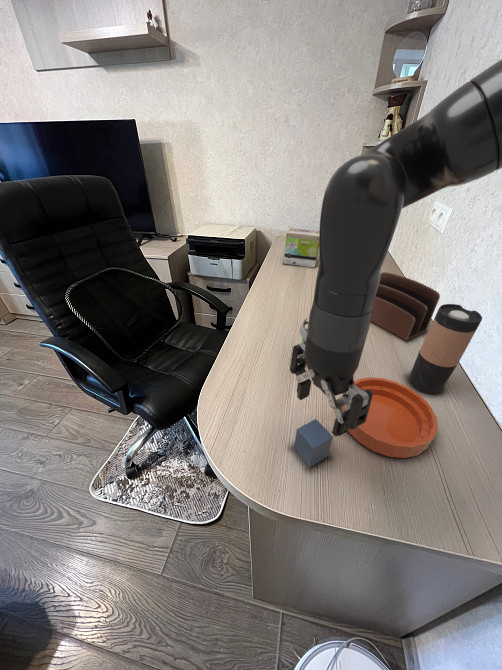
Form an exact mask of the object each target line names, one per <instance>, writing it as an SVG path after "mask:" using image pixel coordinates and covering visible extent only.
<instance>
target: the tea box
mask: <svg viewBox="0 0 502 670" xmlns="http://www.w3.org/2000/svg"><path fill="white" fill-rule="evenodd" d="M319 233H320V230H313V229H302V228H292V227H291V228H289V230H288V231H287V233H286V234H285V235H286V236H285V245H284V254H283V255H284V258H283V264H284V265H292V266H300V267H305V268H315V267H316V264H317V262H318V256H319Z"/></svg>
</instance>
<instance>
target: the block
mask: <svg viewBox="0 0 502 670" xmlns="http://www.w3.org/2000/svg"><path fill="white" fill-rule="evenodd" d="M294 439H295V440H294V445H293V450H294V451H295V452H296V453H297V455H298V456H299V457H300V458H301V460H302V461H303V462H304V463H305V464H306V466H307V467H308V468H309V469H310V468H311V467H313V466H314V465H316V464H318V463H319V462H321V461H323V460H324V459H326V458H327V457H329V453H330V449H331V447H332V443H333V439H334V435H333V434H332V433H331V432H329V431H328V430H327V429H326V428H325V427H324V425H323V424H322V423H321V422H320V421H319V420H318V419H317V418H314V419H313V420H311V421H309V422H307V423H305V424H303V425H302V426H300V427H298V428H296V432H295V438H294Z"/></svg>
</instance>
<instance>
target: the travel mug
mask: <svg viewBox="0 0 502 670" xmlns="http://www.w3.org/2000/svg"><path fill="white" fill-rule="evenodd" d="M482 320H483V316H482V315H481V314H480V312H478V311H477V310H468V309H466V308H464V307H463V305H461V304H457V303H445V304H442V305H440V306H439V307H438V308H437V312H436V314H435V316H434V318H433V320H432V322H431V324H430V327H429V329H428V330H427V334H426V335H425V337H424V340H423V341H422V344H421V347H420V349H419V350H418V354H417V356H416V359H415V361H414V363H413V366H412V368H411V372H410V373H409V377H408V382H409V383H410V385H411V386H412V387H413V388H414V389H415V390H417V391H418V392H420V393H424V394H427V395H437V394H440V393H441V391H442V390H443V389H444V387H445V385H446V384H447V383H448V380H449V379H450V378H451V376H452V374H453V373H454V371H455V370H456V368H457V366H458V365H459V363H460V361H461V359H462V357H463V356H464V354H465V351H466V350H467V348H468V346H469V344H470V343H471V341H472V339H473V337H474V335H475V334H476V331H477V330H478V328H479V326H480V324H481V322H482Z"/></svg>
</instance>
